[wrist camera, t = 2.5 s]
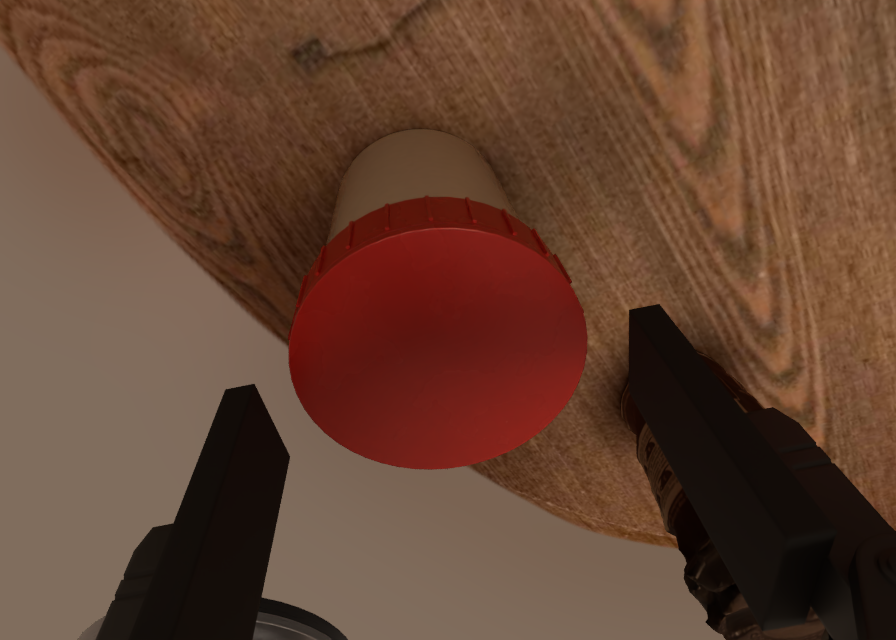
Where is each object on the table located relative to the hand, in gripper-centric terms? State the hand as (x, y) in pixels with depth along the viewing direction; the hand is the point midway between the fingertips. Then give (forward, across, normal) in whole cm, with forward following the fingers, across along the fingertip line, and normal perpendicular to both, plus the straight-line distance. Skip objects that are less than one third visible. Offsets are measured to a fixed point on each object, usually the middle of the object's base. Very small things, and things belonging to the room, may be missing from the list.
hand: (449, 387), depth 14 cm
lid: (+1, 0, 0) cm, 1 cm away
